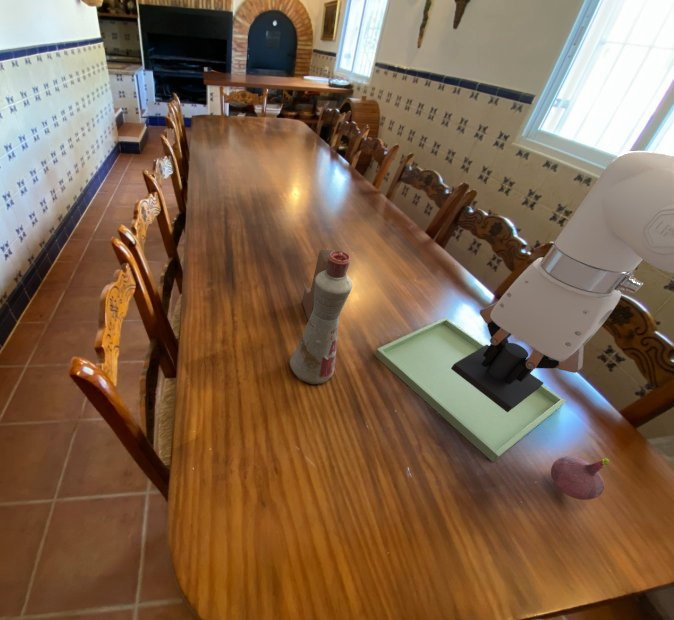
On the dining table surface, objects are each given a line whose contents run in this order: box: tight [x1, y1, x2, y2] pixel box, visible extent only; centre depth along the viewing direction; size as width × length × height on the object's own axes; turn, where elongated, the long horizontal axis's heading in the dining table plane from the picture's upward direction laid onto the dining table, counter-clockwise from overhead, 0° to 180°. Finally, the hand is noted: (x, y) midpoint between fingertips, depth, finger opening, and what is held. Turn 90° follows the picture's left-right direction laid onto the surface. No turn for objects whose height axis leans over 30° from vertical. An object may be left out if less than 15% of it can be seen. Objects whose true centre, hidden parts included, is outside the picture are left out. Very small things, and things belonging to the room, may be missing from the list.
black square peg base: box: [451, 342, 544, 412], centre depth 52 cm, size 9×9×6 cm
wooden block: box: [301, 249, 339, 322], centre depth 82 cm, size 9×4×18 cm, turn 5°
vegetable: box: [550, 456, 610, 501], centre depth 55 cm, size 6×6×10 cm
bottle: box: [289, 250, 353, 385], centre depth 65 cm, size 9×9×28 cm
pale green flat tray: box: [374, 316, 567, 463], centre depth 74 cm, size 28×24×2 cm
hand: (500, 370), depth 53 cm, fingers closed on black square peg base, 3 cm apart
